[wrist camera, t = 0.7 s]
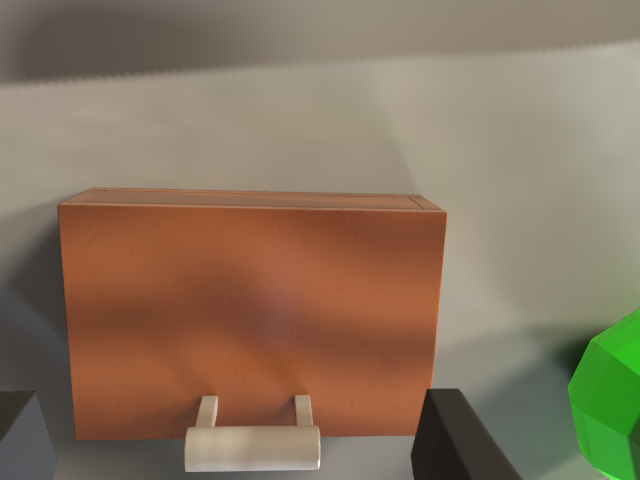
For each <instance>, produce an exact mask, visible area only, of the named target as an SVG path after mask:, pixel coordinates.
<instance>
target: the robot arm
mask: <svg viewBox="0 0 640 480" xmlns="http://www.w3.org/2000/svg"><path fill="white" fill-rule="evenodd" d="M411 461H412V468H413V475H414V480H523V479H522V478H521V476H520V475H519V474H518V472H517V471H516V470H515V468H514V467H513V466H512V464H511V463H510V462H509V460H508V459H507V457H506V456H505V455H504V453H503V452H502V450H501V449H500V448H499V446H498V445H497V443H496V442H495V441H494V439H493V438H492V436H491V435H490V433H489V432H488V431H487V429H486V428H485V426H484V425H483V423H482V422H481V420H480V419H479V417H478V416H477V414H476V413H475V411H474V410H473V408H472V407H471V405H470V404H469V402H468V401H467V399H466V398H465V396H464V395H463V393H462V392H461V391H460V390H459V389H427V390H426V394H425V398H424V402H423V407H422V411H421V415H420V419H419V423H418V427H417V432H416V436H415V440H414V444H413V448H412V453H411ZM57 463H58V460H57V457H56V454H55V451H54V448H53V445H52V441H51V438H50V435H49V432H48V429H47V426H46V423H45V420H44V417H43V413H42V410H41V407H40V404H39V401H38V398H37V395H36V392H35V391H16V392H0V480H53V479H54V475H55V471H56V467H57Z"/></svg>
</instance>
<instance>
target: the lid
mask: <svg viewBox="0 0 640 480" xmlns="http://www.w3.org/2000/svg"><path fill="white" fill-rule="evenodd" d="M58 219H59V232H60V245H61V259H62V272H63V285H64V298H65V311H66V324H67V337H68V350H69V363H70V376H71V389H72V402H73V415H74V428H75V440H125V439H185V441H184V455H183V461H184V469H185V471H186V472H216V471H270V470H317V469H319V466H320V437H347V436H416V432H417V427H418V423H419V419H420V415H421V411H422V407H423V402H424V398H425V394H426V390H427V389H431V387H432V376H433V365H434V354H435V343H436V332H437V321H438V309H439V298H440V287H441V276H442V265H443V254H444V243H445V232H446V221H447V212H445V211H444V210H419V209H370V208H321V207H272V206H223V205H174V204H125V203H76V202H63V203H61V204H59V205H58Z"/></svg>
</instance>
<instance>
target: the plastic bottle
mask: <svg viewBox="0 0 640 480" xmlns="http://www.w3.org/2000/svg"><path fill="white" fill-rule="evenodd" d="M567 390H568V395H569V400H570V405H571V410H572V415H573V421H574V426H575V431H576V436H577V440H578V444H579V448H580V452H581V453H582V454H583V456H584V457H585V458H586V459H587V460H588V461H589V462H590V464H591V465H592V466H593V467H594V468H596V469H597V470H598V471H600V472H601V473H603V474H604V475H605V476H607V477H608V478H609V479H611V480H640V308H639V309H638V310H636V311H635V312H633V313H631V314H630V315H628V316H627V317H625V318H624V319H622V320H620V321H619V322H617V323H616V324H614V325H613V326H611V327H609V328H608V329H606V330H605V331H603V332H602V333H600V334H598V335H597V336H595V337H594V338H592V339H591V340H590V342H589V344H588V346H587V348H586V350H585V352H584V354H583V356H582V358H581V361H580V363H579V365H578V367H577V369H576V371H575V373H574V375H573V377H572V379H571V381H570V383H569V385H568V387H567Z"/></svg>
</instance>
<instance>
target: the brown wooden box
mask: <svg viewBox="0 0 640 480" xmlns="http://www.w3.org/2000/svg"><path fill="white" fill-rule="evenodd" d="M65 202H76V203H125V204H174V205H223V206H272V207H321V208H370V209H419V210H442V209H441V208H439V207H438V206H436V205H435V204H433V203H432V202H430V201H429V200H427V199H426V198H424V197H422V196H421V195H396V194H352V193H307V192H263V191H219V190H174V189H130V188H92V189H90V190H88V191H85V192H83V193H81V194H79V195H77V196H75V197H73V198H71V199H69V200H67V201H65Z"/></svg>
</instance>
